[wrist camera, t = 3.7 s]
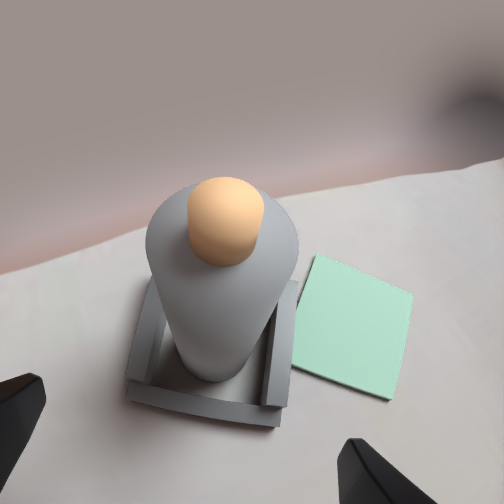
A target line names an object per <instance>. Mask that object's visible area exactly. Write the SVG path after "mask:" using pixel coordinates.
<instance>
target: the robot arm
mask: <svg viewBox="0 0 504 504" xmlns="http://www.w3.org/2000/svg"><path fill="white" fill-rule="evenodd" d="M45 403H46V394H45V390H44V385H43V380H42V378H41V377H40V376H38V375H35V374H33V373H27V374H24V375H21V376H18V377H15V378H12V379H9V380H6V381H3V382H0V493H1V491H2V489H3V487H4V485H5V483H6V481H7V479H8V477H9V475H10V474H11V472H12V470H13V468H14V466H15V464H16V463H17V461H18V459H19V457H20V455H21V454H22V452H23V450H24V448H25V447H26V445H27V443H28V441H29V439H30V437H31V435H32V433H33V430H34V428H35V426H36V424H37V421H38V419H39V417H40V415H41V412H42V410H43V408H44V406H45ZM337 468H338V486H339V503H340V504H437V503H436V502H435V501H434V500H432V499H431V498H430V497H429V496H428V495H426V494H425V493H424V492H423V491H422V490H420V489H419V488H418V487H417V486H416V485H415V484H413V483H412V482H411V481H410V480H409V479H407V478H406V477H405V476H404V475H403V474H402V473H400V472H399V471H398V470H397V469H396V468H395V467H394V466H392V465H391V464H390V463H389V462H388V461H387V460H386V459H385V458H383V457H382V456H381V455H380V454H379V453H378V452H377V451H376V450H374V449H373V448H372V447H371V446H370V445H369V444H368V443H367V442H366V441H365V440H363V439H361V438H350V439H348V440H347V441H346V443H345V445H344V447H343V448H342V450H341V452H340V454H339V456H338V459H337Z"/></svg>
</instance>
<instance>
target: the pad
mask: <svg viewBox="0 0 504 504" xmlns="http://www.w3.org/2000/svg"><path fill="white" fill-rule="evenodd" d="M412 302H413V295H412V294H410V293H408V292H406V291H403V290H401V289H399V288H397V287H394V286H392V285H390V284H388V283H385V282H383V281H381V280H379V279H376V278H374V277H372V276H370V275H367V274H365V273H363V272H360V271H358V270H356V269H353V268H351V267H349V266H347V265H344V264H342V263H340V262H337V261H335V260H333V259H330V258H328V257H326V256H323V255H321V254H319V253H317V254H316V256H315V259H314V262H313V264H312V267H311V270H310V273H309V276H308V278H307V281H306V284H305V287H304V289H303V292H302V295H301V297H300V300H299V303H298V305H297V308H296V319H295V331H294V342H293V353H292V363H291V365H292V366H294V367H297V368H300V369H302V370H305V371H307V372H310V373H313V374H315V375H318V376H321V377H323V378H326V379H329V380H331V381H334V382H337V383H340V384H343V385H346V386H348V387H351V388H354V389H357V390H360V391H363V392H366V393H369V394H372V395H375V396H378V397H381V398H384V399H388V400H393V396H394V392H395V388H396V384H397V380H398V376H399V372H400V367H401V363H402V358H403V353H404V348H405V343H406V338H407V332H408V327H409V321H410V315H411V308H412Z"/></svg>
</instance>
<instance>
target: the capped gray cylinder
mask: <svg viewBox="0 0 504 504" xmlns="http://www.w3.org/2000/svg"><path fill="white" fill-rule="evenodd" d="M298 253H299V242H298V235H297V232H296V229H295V226H294V224H293V222H292V220H291V218H290V217H289V215H288V213H287V212H286V211H285V210H284V208H283V207H282V206H281V205H280V204H279V203H278V202H277V201H276V200H274V199H273V198H272V197H270V196H269V195H267V194H266V193H264V192H262V191H260V190H258V189H256V188H254V187H253V186H251V185H250V184H248V183H246V182H244V181H242V180H239V179H236V178H230V177H217V178H212V179H209V180H206V181H204V182H202V183H198V184H194V185H191V186H189V187H186V188H184V189H182V190H180V191H178V192H176V193H175V194H173V195H172V196H170V197H169V198H168V199H167V200H165V201H164V202H163V203H162V205H161V206H160V207H159V208H158V209H157V211H156V212H155V214H154V215H153V217H152V219H151V221H150V223H149V226H148V229H147V233H146V254H147V259H148V262H149V265H150V269H151V272H152V275H153V278H154V282H155V285H156V288H157V291H158V294H159V297H160V300H161V304H162V307H163V310H164V313H165V315H166V318H167V321H168V324H169V327H170V330H171V333H172V336H173V338H174V341H175V344H176V347H177V349H178V352H179V355H180V357H181V360H182V362H183V364H184V366H185V367H186V369H187V370H188V371H189V372H190V373H191V374H193V375H194V376H196V377H197V378H199V379H202V380H205V381H210V382H220V381H224V380H227V379H230V378H232V377H233V376H235V375H236V374H238V373H239V372H240V371H241V369H242V368H243V367H244V365H245V363H246V361H247V359H248V358H249V356H250V354H251V352H252V350H253V348H254V346H255V345H256V343H257V341H258V339H259V337H260V335H261V333H262V331H263V329H264V328H265V326H266V324H267V322H268V320H269V318H270V316H271V314H272V312H273V310H274V308H275V306H276V304H277V303H278V301H279V299H280V297H281V295H282V293H283V291H284V289H285V287H286V285H287V283H288V281H289V279H290V277H291V275H292V273H293V271H294V269H295V266H296V263H297V260H298Z"/></svg>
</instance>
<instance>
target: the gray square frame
mask: <svg viewBox="0 0 504 504" xmlns="http://www.w3.org/2000/svg"><path fill="white" fill-rule="evenodd" d="M297 293H298V281H294V280H289V281H288V283H287V285H286V287H285V289H284V291H283V293H282V295H281V297H280V299H279V301H278V303H277V304H276V306H275V308H274V310H273V312H272V314H271V321H270V329H269V337H268V346H267V354H266V362H265V370H264V378H263V385H262V393H261V401H260V406H258V405H250V404H243V403H236V402H230V401H224V400H218V399H212V398H207V397H201V396H196V395H191V394H186V393H181V392H177V391H172V390H168V389H163V388H159V387H155V386H152V382H153V377H154V373H155V368H156V364H157V359H158V355H159V351H160V346H161V342H162V338H163V334H164V329H165V325H166V321H167V318H166V315H165V313H164V310H163V307H162V304H161V300H160V297H159V294H158V291H157V288H156V285H155V282H154V278H153V275H152V277H151V280H150V283H149V286H148V290H147V293H146V297H145V300H144V303H143V307H142V311H141V314H140V318H139V321H138V325H137V329H136V332H135V336H134V340H133V344H132V348H131V352H130V356H129V360H128V364H127V368H126V372H125V377H126V378H127V379H129V380H130V381H129V385H128V390H127V394H126V399H129V400H132V401H136V402H139V403H143V404H147V405H151V406H155V407H159V408H163V409H168V410H172V411H177V412H181V413H186V414H191V415H196V416H201V417H207V418H212V419H218V420H224V421H231V422H238V423H245V424H253V425H261V426H270V427H280V421H281V412H282V408H284V407H287V401H288V392H289V383H290V373H291V363H292V353H293V342H294V331H295V319H296V307H297Z"/></svg>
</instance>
